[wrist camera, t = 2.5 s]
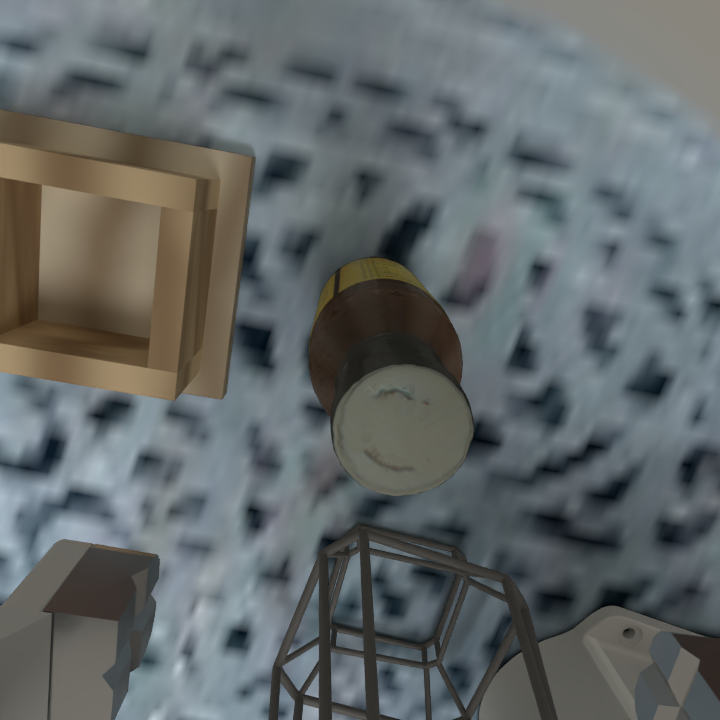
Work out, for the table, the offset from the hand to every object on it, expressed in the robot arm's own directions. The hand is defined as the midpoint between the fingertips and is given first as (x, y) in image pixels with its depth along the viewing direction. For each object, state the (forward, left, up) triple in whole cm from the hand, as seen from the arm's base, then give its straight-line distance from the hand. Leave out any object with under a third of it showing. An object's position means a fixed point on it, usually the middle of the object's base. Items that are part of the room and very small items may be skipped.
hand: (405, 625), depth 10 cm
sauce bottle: (0, 0, -27) cm, 27 cm away
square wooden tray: (+15, 0, -27) cm, 31 cm away
